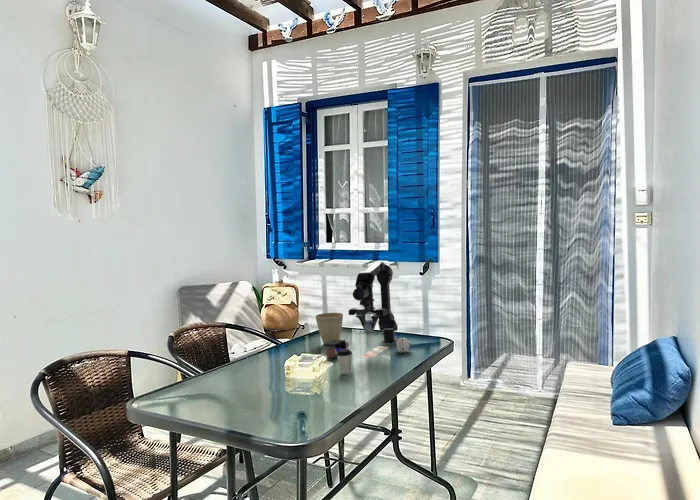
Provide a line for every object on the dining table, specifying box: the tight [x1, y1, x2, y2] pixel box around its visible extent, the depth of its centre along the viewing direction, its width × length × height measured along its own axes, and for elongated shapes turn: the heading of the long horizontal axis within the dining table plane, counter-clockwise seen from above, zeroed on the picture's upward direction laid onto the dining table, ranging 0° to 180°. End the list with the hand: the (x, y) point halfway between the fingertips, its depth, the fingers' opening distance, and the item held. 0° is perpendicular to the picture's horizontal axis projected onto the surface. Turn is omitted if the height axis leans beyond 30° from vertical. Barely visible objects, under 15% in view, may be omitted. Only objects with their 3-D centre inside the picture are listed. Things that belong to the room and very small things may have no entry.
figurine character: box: [322, 339, 350, 359], centre depth 247 cm, size 7×8×15 cm
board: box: [359, 345, 389, 359], centre depth 246 cm, size 22×9×1 cm, turn 151°
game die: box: [394, 336, 412, 354], centre depth 242 cm, size 9×8×10 cm
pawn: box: [363, 319, 375, 333], centre depth 241 cm, size 4×4×6 cm
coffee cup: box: [336, 348, 353, 375], centre depth 216 cm, size 7×7×10 cm
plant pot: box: [315, 312, 344, 344], centre depth 270 cm, size 15×15×16 cm
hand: (368, 329), depth 241 cm, fingers closed on pawn, 4 cm apart
